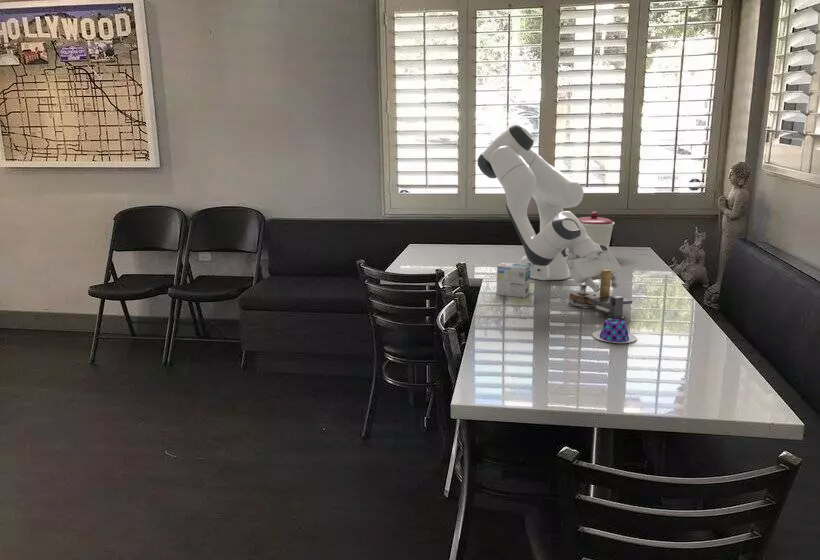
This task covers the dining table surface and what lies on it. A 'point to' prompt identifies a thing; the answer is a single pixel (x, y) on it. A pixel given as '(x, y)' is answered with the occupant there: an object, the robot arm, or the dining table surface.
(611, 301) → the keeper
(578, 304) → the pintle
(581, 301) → the link
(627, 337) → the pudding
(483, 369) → the dining table surface
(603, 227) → the canister
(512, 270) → the light bulb box
